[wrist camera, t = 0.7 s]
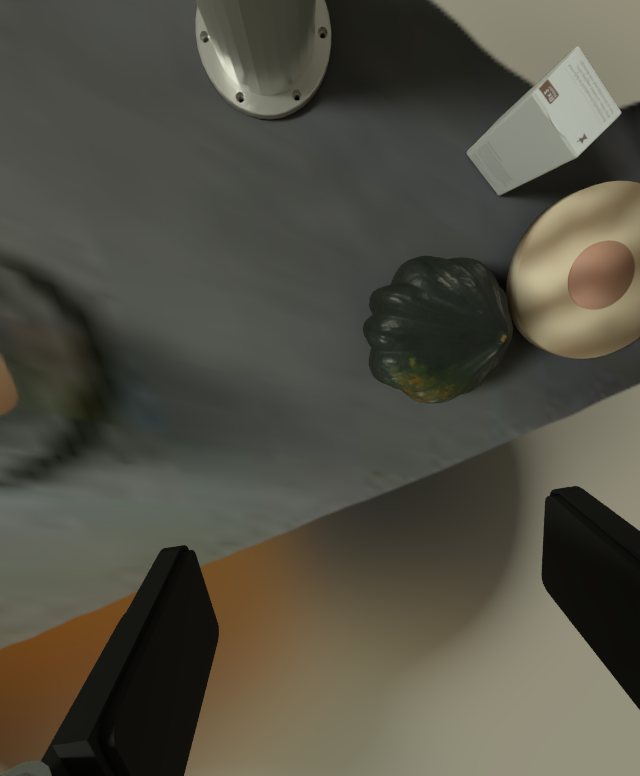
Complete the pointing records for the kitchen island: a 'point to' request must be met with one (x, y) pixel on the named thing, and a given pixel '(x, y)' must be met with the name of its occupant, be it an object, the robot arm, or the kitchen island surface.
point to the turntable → (580, 273)
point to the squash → (438, 328)
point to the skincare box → (546, 125)
